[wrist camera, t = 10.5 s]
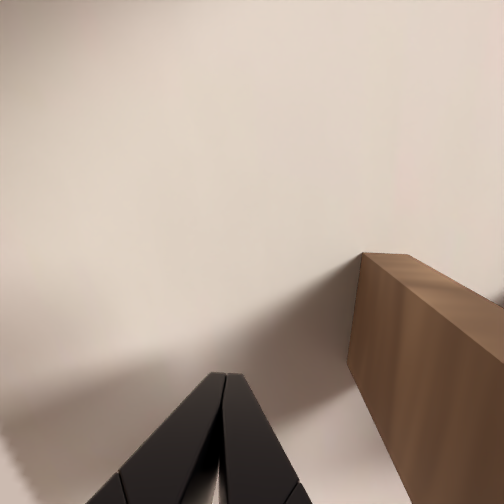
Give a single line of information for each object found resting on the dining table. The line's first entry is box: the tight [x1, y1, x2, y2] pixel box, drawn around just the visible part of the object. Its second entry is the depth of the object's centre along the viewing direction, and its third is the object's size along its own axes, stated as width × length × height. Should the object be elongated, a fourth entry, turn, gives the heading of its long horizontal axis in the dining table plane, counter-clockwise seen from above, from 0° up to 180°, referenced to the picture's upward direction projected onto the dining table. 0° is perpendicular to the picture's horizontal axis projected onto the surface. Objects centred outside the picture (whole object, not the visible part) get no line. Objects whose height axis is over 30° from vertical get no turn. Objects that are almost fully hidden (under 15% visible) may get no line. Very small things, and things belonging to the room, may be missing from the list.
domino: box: [347, 252, 504, 504], centre depth 9 cm, size 2×5×8 cm, turn 178°
